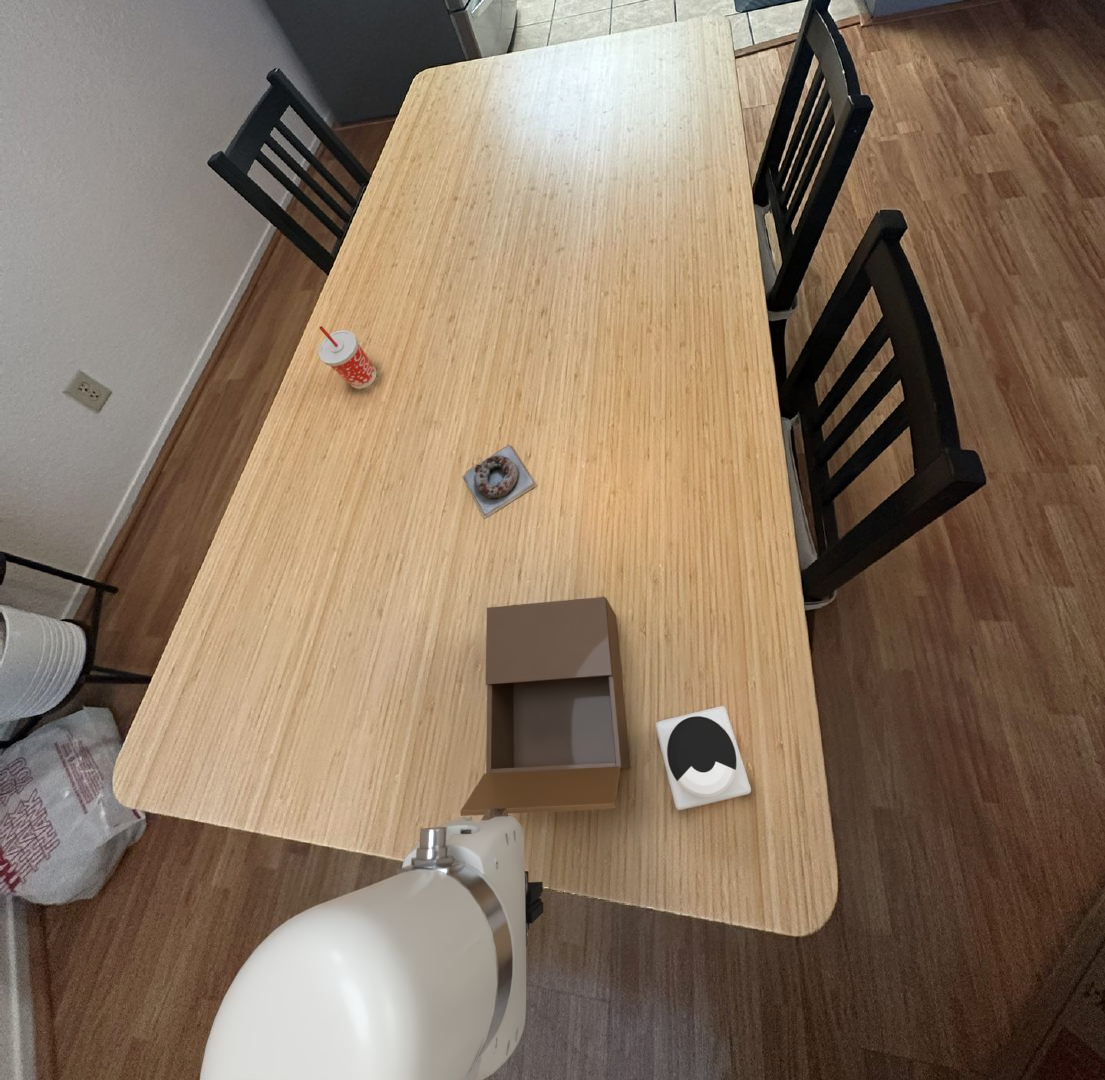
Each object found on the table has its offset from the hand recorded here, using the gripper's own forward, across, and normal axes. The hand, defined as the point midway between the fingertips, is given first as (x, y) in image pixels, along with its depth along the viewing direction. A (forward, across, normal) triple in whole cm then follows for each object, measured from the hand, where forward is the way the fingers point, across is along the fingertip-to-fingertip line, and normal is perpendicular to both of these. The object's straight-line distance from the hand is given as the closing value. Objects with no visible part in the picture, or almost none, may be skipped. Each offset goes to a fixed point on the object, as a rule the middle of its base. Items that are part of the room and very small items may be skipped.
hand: (521, 896), depth 44 cm
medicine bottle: (+22, -8, +14) cm, 28 cm away
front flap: (+9, -6, 0) cm, 11 cm away
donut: (+23, -41, -8) cm, 47 cm away
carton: (+22, -14, 0) cm, 27 cm away
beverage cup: (+23, -62, -31) cm, 73 cm away
